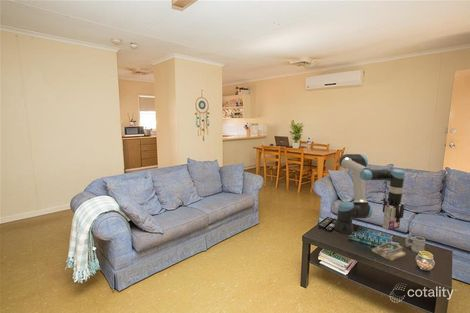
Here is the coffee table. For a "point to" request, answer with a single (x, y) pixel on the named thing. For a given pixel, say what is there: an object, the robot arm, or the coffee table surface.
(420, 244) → the mug
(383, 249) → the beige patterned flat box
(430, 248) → the coffee table surface
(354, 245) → the coffee table surface
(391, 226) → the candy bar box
